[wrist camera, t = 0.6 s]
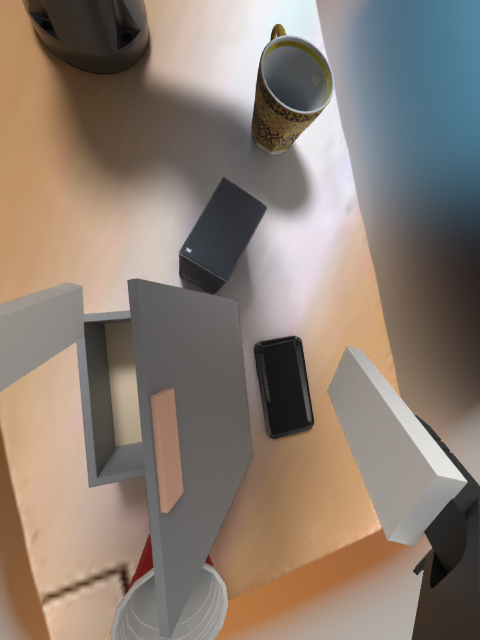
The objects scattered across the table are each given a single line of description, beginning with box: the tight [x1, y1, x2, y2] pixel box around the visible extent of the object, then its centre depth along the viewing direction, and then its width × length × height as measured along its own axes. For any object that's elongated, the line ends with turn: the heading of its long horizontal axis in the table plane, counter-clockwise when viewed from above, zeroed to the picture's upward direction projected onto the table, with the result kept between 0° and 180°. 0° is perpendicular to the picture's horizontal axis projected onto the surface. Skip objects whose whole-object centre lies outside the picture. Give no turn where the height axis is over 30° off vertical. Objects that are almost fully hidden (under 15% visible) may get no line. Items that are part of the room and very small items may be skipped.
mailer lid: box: [127, 279, 253, 639], centre depth 21 cm, size 18×17×1 cm
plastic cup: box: [110, 533, 228, 640], centre depth 29 cm, size 11×11×12 cm
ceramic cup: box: [251, 24, 334, 155], centre depth 36 cm, size 13×10×10 cm
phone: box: [254, 336, 314, 439], centre depth 39 cm, size 8×1×15 cm
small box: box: [179, 178, 267, 294], centre depth 33 cm, size 11×6×10 cm, turn 151°
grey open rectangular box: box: [76, 311, 145, 488], centre depth 32 cm, size 18×17×8 cm
